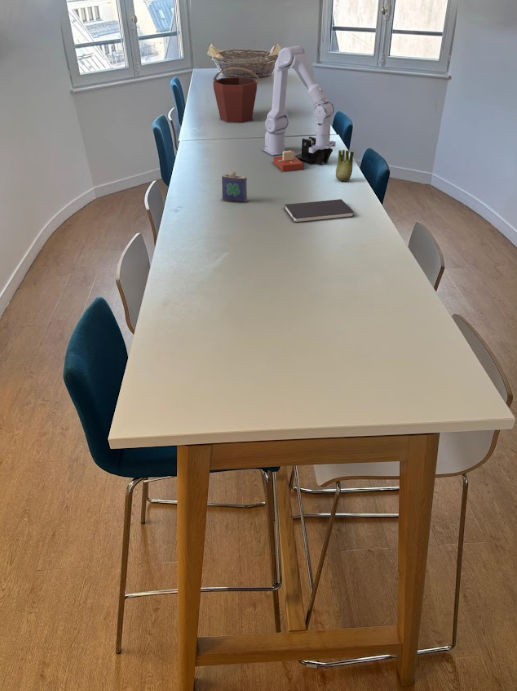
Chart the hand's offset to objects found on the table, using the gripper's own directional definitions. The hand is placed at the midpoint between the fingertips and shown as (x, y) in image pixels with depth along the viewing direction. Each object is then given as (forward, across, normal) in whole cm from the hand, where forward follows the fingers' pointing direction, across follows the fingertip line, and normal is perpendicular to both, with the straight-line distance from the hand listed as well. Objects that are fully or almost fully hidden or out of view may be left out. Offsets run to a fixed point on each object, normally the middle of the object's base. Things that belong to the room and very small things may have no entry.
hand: (321, 166), depth 245 cm
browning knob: (-4, -13, +7) cm, 15 cm away
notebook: (-1, -41, -36) cm, 55 cm away
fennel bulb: (-1, -10, -20) cm, 23 cm away
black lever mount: (-2, 0, +7) cm, 8 cm away
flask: (-1, -55, -7) cm, 56 cm away
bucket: (-2, +22, +82) cm, 85 cm away
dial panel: (-2, -13, +7) cm, 15 cm away
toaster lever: (-5, 0, +4) cm, 7 cm away
